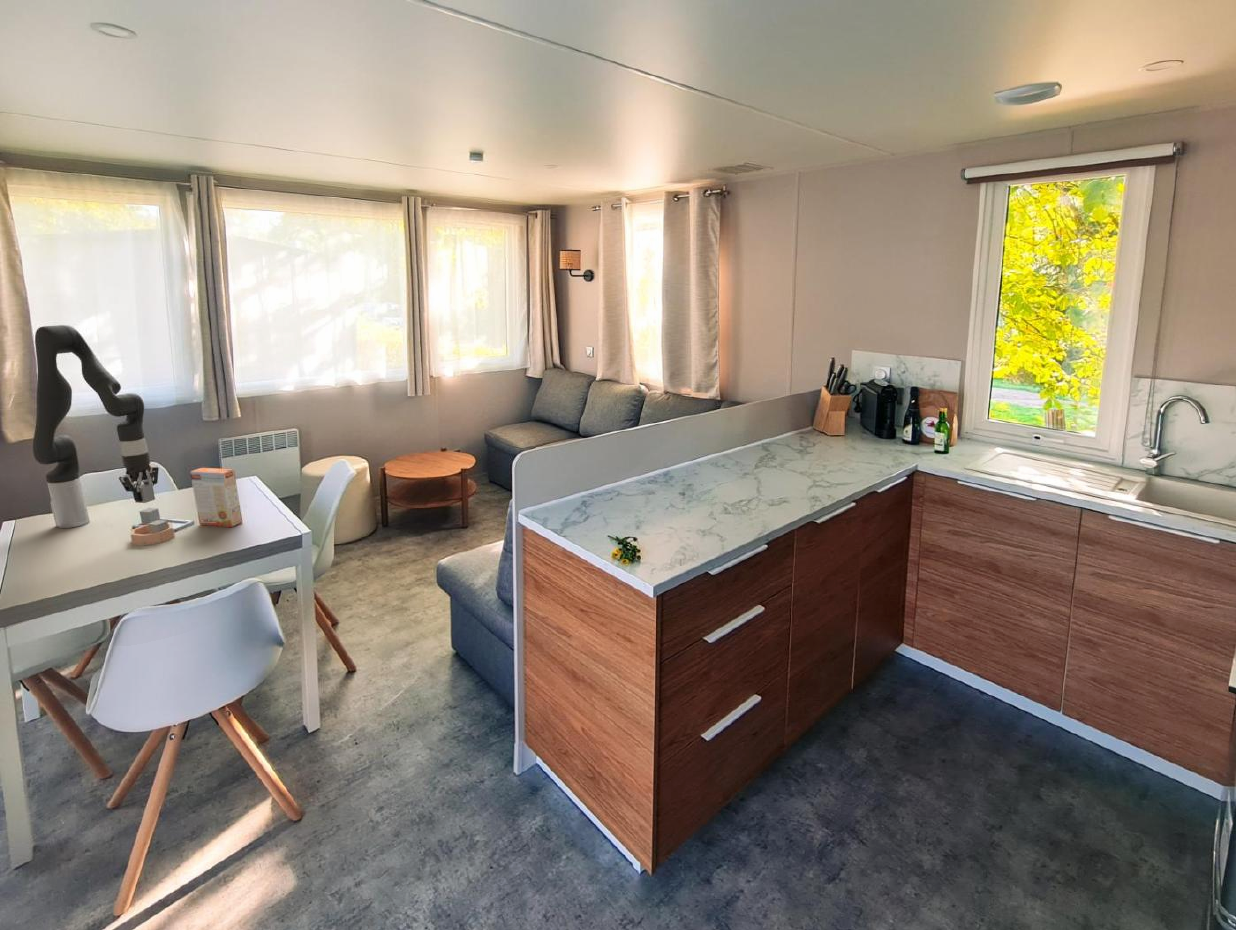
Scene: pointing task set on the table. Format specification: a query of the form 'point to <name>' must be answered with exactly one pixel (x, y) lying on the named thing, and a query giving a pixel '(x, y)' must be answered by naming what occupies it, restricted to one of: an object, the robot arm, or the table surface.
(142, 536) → the bowl
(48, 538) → the table surface
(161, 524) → the grey rectangular block
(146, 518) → the gray block
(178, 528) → the tray
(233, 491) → the cracker box
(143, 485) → the gray rectangular block
